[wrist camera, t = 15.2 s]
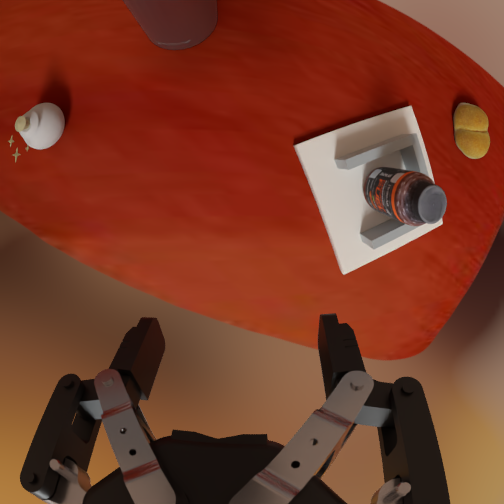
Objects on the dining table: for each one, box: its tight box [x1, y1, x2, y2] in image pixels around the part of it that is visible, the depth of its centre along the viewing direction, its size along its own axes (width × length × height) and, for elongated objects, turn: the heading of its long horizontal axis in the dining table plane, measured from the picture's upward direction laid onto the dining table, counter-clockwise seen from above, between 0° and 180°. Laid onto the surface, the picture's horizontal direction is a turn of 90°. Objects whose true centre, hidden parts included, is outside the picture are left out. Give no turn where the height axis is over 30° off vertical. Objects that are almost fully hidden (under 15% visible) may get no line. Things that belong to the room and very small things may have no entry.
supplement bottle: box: [363, 167, 447, 226], centre depth 30 cm, size 6×6×11 cm
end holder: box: [294, 106, 443, 275], centre depth 34 cm, size 18×18×4 cm
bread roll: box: [453, 103, 490, 159], centre depth 33 cm, size 8×9×4 cm
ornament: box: [8, 103, 65, 162], centre depth 25 cm, size 6×7×10 cm
